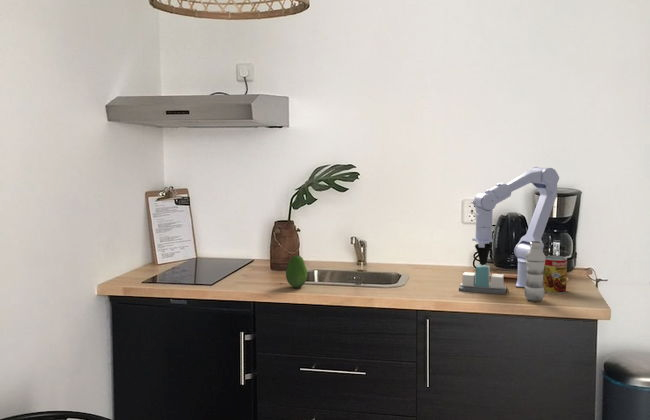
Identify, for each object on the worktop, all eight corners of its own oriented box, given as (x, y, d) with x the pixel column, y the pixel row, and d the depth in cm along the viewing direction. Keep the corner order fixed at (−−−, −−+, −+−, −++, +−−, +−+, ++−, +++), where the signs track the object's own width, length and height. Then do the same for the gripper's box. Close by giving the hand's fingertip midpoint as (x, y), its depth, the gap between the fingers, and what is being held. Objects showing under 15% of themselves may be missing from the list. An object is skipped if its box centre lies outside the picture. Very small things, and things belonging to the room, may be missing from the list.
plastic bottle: (539, 297, 215) (541, 240, 213) (547, 302, 209) (549, 243, 206) (521, 298, 215) (522, 240, 213) (528, 303, 208) (530, 243, 206)
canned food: (557, 294, 219) (558, 260, 218) (538, 290, 225) (539, 257, 224) (570, 291, 224) (571, 258, 222) (551, 287, 230) (552, 254, 229)
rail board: (506, 288, 229) (507, 273, 228) (504, 294, 220) (505, 278, 220) (462, 285, 234) (462, 270, 234) (458, 290, 226) (458, 275, 225)
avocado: (310, 285, 236) (309, 254, 235) (302, 290, 229) (302, 258, 228) (290, 284, 239) (290, 253, 238) (282, 288, 232) (281, 256, 230)
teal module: (489, 284, 228) (489, 265, 227) (488, 287, 225) (488, 267, 224) (476, 283, 230) (477, 265, 229) (475, 286, 226) (475, 267, 225)
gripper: (475, 223, 233) (474, 259, 234) (470, 229, 219) (469, 267, 221) (494, 224, 230) (493, 260, 232) (490, 230, 217) (490, 268, 218)
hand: (483, 264), depth 226 cm, fingers closed
